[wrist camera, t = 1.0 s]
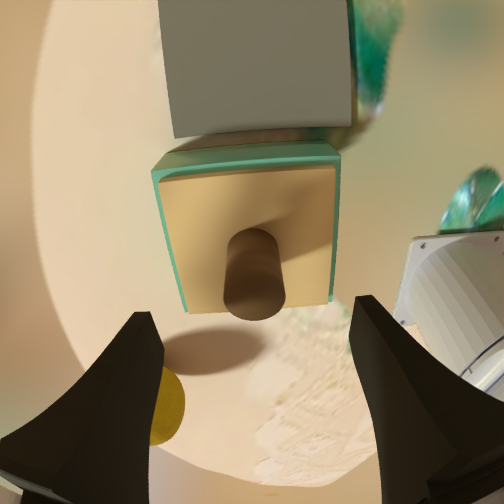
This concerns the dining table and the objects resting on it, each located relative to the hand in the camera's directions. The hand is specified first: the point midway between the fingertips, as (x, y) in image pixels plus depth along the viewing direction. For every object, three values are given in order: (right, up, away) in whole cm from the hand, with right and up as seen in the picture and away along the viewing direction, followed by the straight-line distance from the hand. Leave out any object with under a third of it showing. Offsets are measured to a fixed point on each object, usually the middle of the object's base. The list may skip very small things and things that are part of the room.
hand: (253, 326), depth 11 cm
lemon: (-8, -7, +15) cm, 18 cm away
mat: (0, +12, +2) cm, 12 cm away
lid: (0, +3, +5) cm, 6 cm away
